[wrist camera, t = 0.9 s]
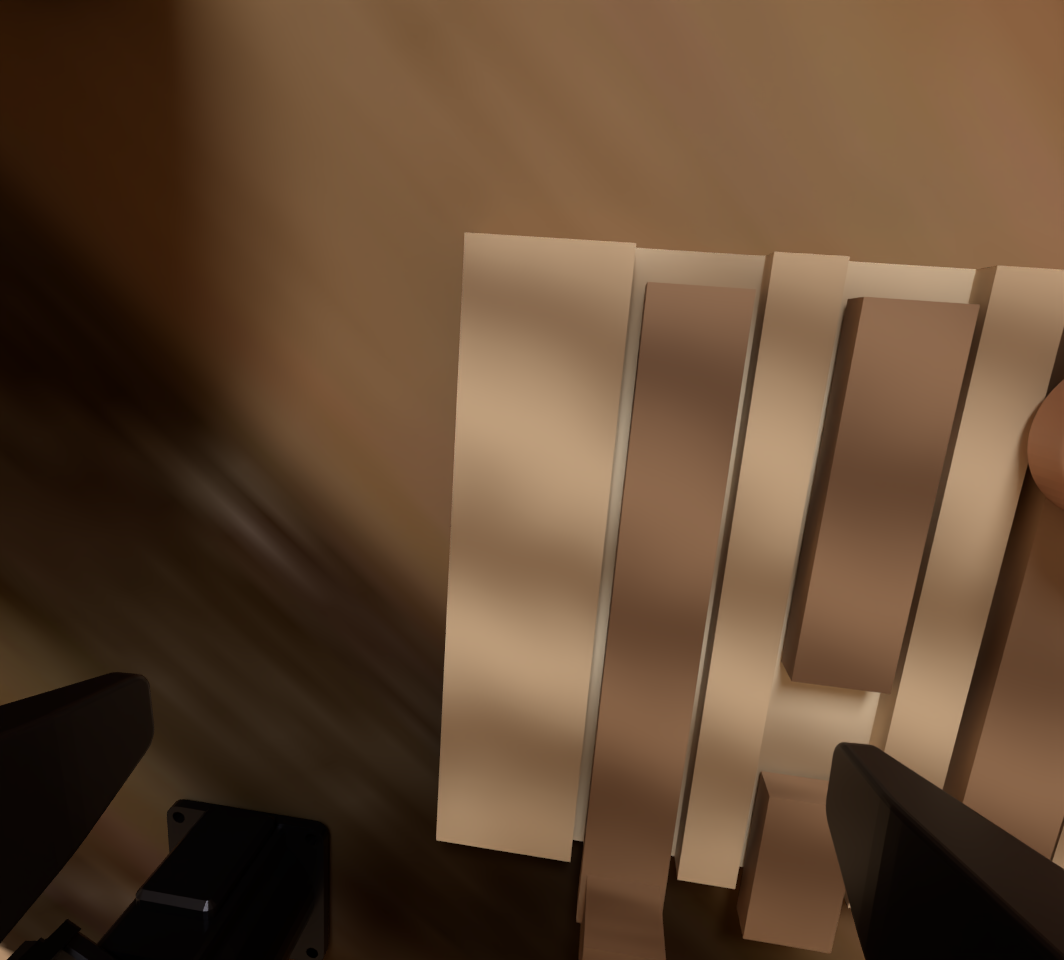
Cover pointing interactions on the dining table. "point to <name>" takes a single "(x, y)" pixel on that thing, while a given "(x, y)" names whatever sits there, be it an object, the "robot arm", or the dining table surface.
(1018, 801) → the strip
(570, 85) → the dining table surface
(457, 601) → the lane board
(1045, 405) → the pink egg
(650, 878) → the strip
